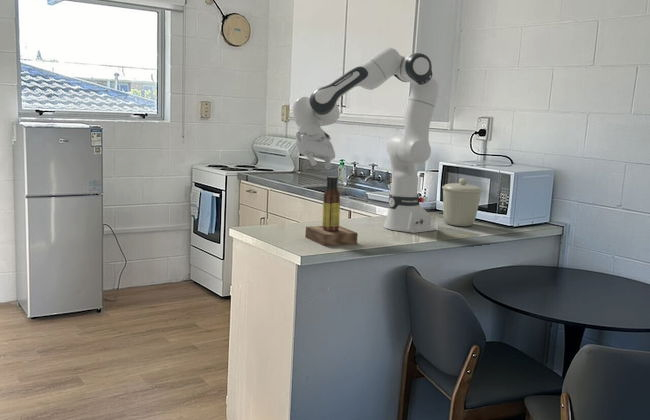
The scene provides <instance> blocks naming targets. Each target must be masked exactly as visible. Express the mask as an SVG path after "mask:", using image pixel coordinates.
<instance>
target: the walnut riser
mask: <svg viewBox="0 0 650 420" xmlns="http://www.w3.org/2000/svg"><path fill="white" fill-rule="evenodd" d="M304 235H305V238H307V239H309V240H310V241H313V242H315V243H317V244H319V245H322V246H323V247H325V246H339V245H340V246H342V245H356V244H358V236H359V235H358V232H356V231H354V230H351V229H348V228H346V227H343V226H341V225H339V229H338V230H337V231H326V230H324V229H323V225H317V226H316V225H315V226H305V234H304Z"/></svg>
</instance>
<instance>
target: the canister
mask: <svg viewBox="0 0 650 420" xmlns="http://www.w3.org/2000/svg"><path fill="white" fill-rule="evenodd" d="M441 188H442V209H443V210H442V212H443V213H442V215H443V216H442V217H443V221H444V223H446V224H447V225H451V226H453V227H470V226H472V225H474V223H475V221H476V217H477V213H478V210H479V205H480V200H481V196H482V193H483V192H484V190H483V189H481V187H479V186H476V185H473V184H468V179H466V178H464V177H462V178H459V180H458V182H457V183H456V182H455V183H452V182H451V183H447V184H446V183H445V184H444V185H442V186H441Z"/></svg>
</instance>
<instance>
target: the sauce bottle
mask: <svg viewBox="0 0 650 420" xmlns="http://www.w3.org/2000/svg"><path fill="white" fill-rule="evenodd" d="M338 180H339V177H338V176H335V175H334V176H333V175H328V176H326V190H325V191H324V192H323V200H322V201H323V202H322V223H321V224H322V225H321V226H323V229H324V230H326V231H337V230H338V229H339V226H340V216H341V215H340V213H341V212H340V210H341V201H340V200H341V199H340V197H341V195H340V192H339V189H338Z"/></svg>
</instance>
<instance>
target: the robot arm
mask: <svg viewBox="0 0 650 420" xmlns="http://www.w3.org/2000/svg"><path fill="white" fill-rule="evenodd" d="M432 67H433V66H432V61H431V59H430V57H429V56H427V55H426V54H424V53H421V52H414V53H409V54H406V55H401V54H400V52H398V50H396V49H395V48H393V47H385V48H384V49H382V50H380V51H378V52H377V53H375V54H374V55H372V56H371V57H369V58H368V59H367V60H366V61H364V62H363V63H362V64H360V65H359V66H355V68H353V69H350V70H348V71H347V72H346V73H344V74H343V75H341V76H340V77H338V78H337V79H335V80H334V81H332V82H330V83H329V84H327V85H323V86H321V87H318V88H316V89H315V90H313V91H312V92H311V94H310V97H308V96H302V97H299V98H297V99H296V100H295V102H293V105H292V113H293V114H292V115H293V119H294V121H295V124H296V126H297V128H298V131H296V134H295V137H296V138H295V139H296V147H297V149H298V152H299V154H301V155H303V156H306V158H307V159H308V161H309V162H310V164H311V166H314V167H315V166H316V165H317V164H318V162H317V159H318V160H322V161H324V163H325V164H324V167H325V169H327V170H330V169H332V165H331V163H332V161H333V160H334V159H335V158H336V153H335V150H334V146H333V143H332V142H331V140H332V139H331V136H330V134H328V133H327V132H325V130H323V128H321V127H323V126H328V125H332V124H334V123H336V122H337V120H338V119H339V117H340V110H339V106H338V101H339V99H340V98H341V97H343V96H344V95H345V94H346V93H348V92H349V91H351V90H353V89H355V88H357V87H361V88H363V89H364V90H365V89H366V90H370V91H371V90H372V91H373V90H375V89H377V88H378V87H380V86H381V85H383V84H384V83H385V82H386V81H387V80H389V79H390V78H391V77H393V76H394V77H395V78H396V79H397V80H399V81H401V82H402V83H410V88H411V91H410V95H409V98H408V101H407V104H406V107H405V111H404V115H403V122H404V134H397V135H393V136H391V137H390V138H389V139H388V140H387V142H386V152H387V153H388V156H389V161H390V168H391V186H390V193H389V194H388V195H389V196H388V211H387V216H386V219H385V221H384V224H383V228H385V229H387V230H393V231H396V232H405V233H411V234H415V233H424V232H432V231H436V230H437V228H436V227H435V226H434V225H432V223H431V221H432V218H431V215H430V214H429V212H428V211H426V210H425V209H424V207H422V206H421V205H420V203H424V201H425V197H419V196H418V190H419V189H418V188H419V181H420V179H419V176H418V173H417V170H416V165H418V164H423V163H426V161H429V158H430V156H431V154H432V148H431V145H430V143H429V142H430V141H429V138H430V137H429V135H430V134H429V133H430V125H431V120H432V117H433V114H434V111H435V106H436V103H437V99H438V94H439V82H438V81H437V79H435V78H434V77H433V71H432V70H433V69H432Z"/></svg>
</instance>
